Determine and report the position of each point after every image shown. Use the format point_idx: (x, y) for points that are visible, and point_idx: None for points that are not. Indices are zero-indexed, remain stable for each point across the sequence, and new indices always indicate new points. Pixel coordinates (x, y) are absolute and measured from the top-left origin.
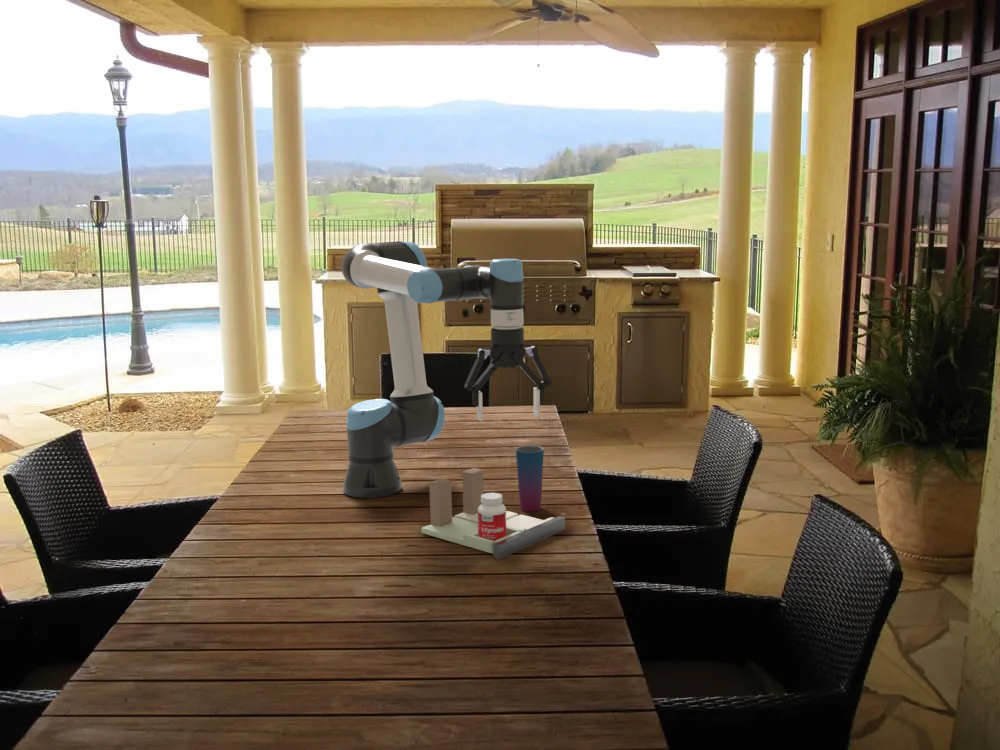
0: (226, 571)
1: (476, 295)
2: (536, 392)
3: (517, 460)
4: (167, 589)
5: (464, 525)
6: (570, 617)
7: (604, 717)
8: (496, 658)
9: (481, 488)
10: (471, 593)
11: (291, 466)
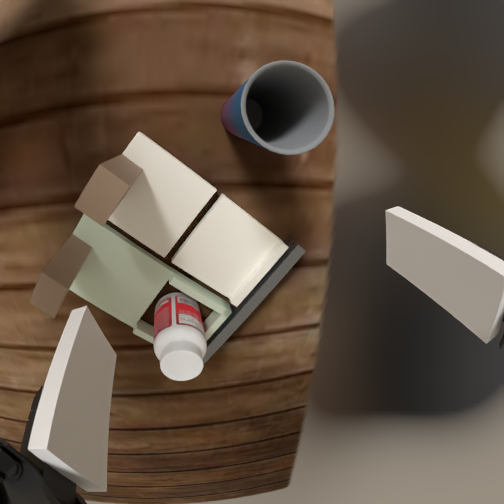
0: None
1: None
2: (474, 333)
3: (238, 123)
4: None
5: (118, 263)
6: (267, 438)
7: (270, 486)
8: (215, 473)
9: (132, 183)
10: (178, 424)
11: None
